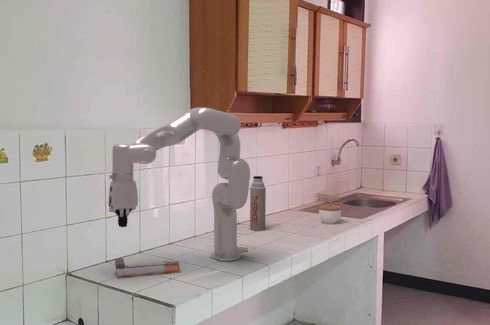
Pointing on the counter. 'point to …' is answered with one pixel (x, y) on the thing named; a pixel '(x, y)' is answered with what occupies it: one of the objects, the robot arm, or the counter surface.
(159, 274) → the walnut board
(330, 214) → the lidded bowl
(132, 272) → the tongs fixed
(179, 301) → the counter surface
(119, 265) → the tab
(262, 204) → the thermos bottle
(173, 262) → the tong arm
